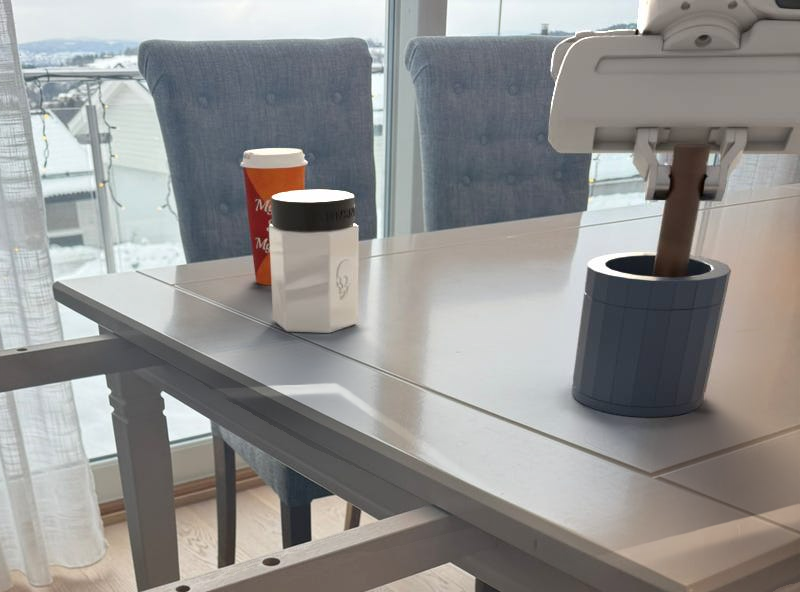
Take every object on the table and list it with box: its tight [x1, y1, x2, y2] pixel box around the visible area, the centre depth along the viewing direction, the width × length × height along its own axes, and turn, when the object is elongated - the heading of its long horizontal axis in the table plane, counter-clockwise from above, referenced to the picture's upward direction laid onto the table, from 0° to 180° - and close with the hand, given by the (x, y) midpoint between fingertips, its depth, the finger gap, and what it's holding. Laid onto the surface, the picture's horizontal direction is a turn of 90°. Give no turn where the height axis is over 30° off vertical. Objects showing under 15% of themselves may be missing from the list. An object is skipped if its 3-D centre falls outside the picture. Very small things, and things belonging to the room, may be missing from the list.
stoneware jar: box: [571, 251, 732, 418], centre depth 73 cm, size 10×10×10 cm
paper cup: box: [239, 147, 309, 287], centre depth 109 cm, size 8×8×14 cm
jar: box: [269, 189, 360, 334], centre depth 93 cm, size 9×8×12 cm
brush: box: [652, 144, 710, 277], centre depth 69 cm, size 5×5×16 cm
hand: (684, 195), depth 66 cm, fingers closed on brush, 2 cm apart
